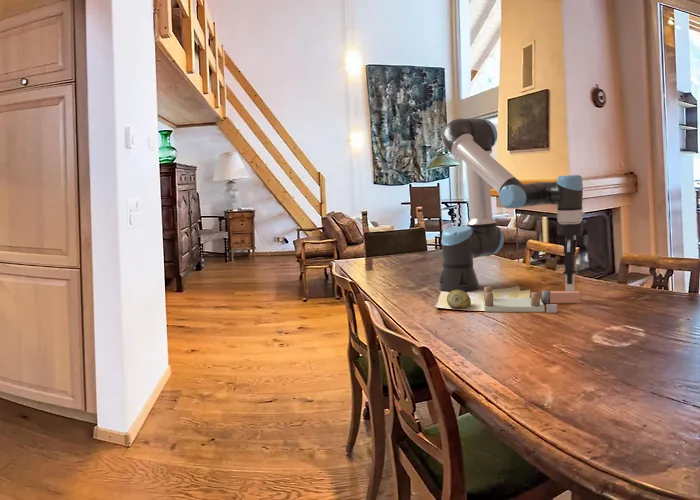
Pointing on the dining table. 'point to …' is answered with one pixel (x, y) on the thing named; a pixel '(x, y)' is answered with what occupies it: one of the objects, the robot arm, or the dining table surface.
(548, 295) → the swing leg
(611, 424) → the dining table surface
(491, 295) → the pale board with pegs
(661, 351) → the dining table surface
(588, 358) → the dining table surface
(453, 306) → the seashell
